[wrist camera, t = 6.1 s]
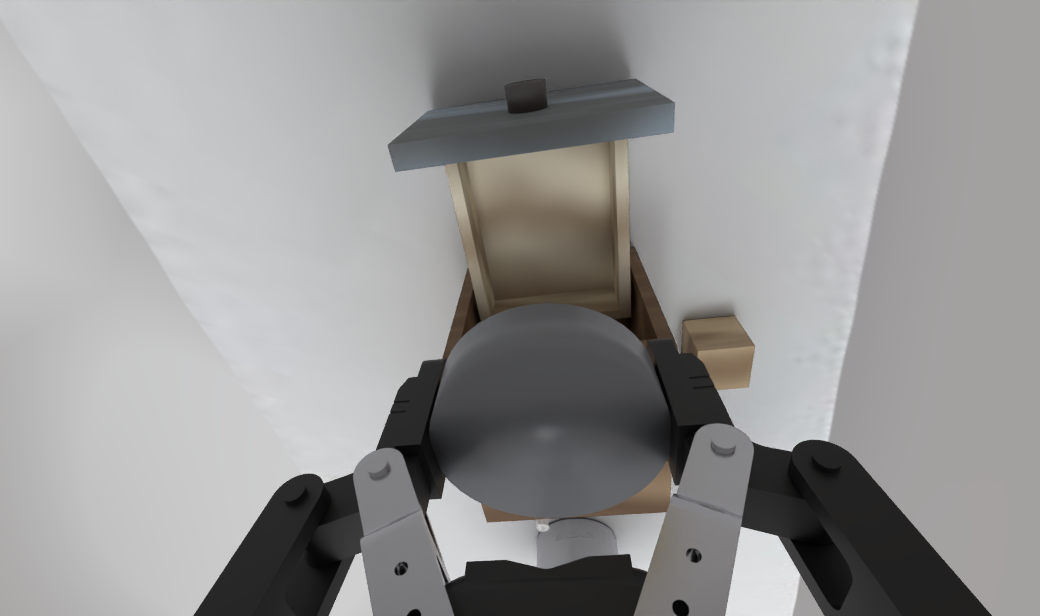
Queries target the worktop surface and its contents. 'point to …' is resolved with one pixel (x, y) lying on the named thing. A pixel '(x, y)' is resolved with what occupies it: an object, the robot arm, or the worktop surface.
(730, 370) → the wooden block
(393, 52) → the worktop surface
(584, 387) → the disc
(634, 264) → the housing
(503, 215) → the drawer
